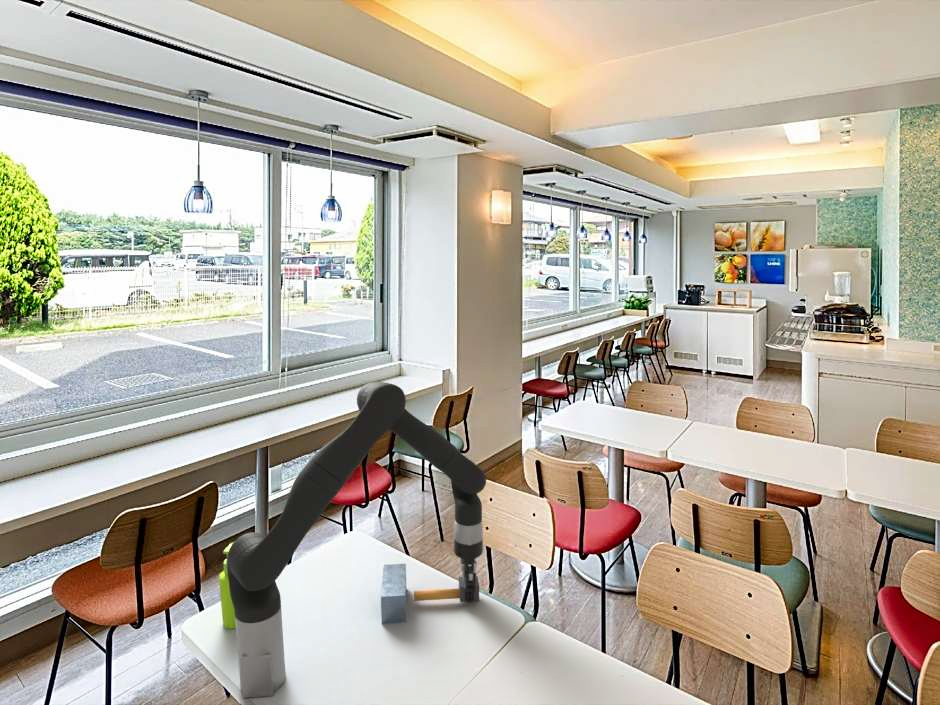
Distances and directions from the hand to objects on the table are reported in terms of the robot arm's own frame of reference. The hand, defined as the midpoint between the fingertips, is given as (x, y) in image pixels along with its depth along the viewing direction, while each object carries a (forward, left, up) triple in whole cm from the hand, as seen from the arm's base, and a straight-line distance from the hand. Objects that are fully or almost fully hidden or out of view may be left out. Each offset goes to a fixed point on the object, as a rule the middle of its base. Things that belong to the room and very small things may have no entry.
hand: (468, 595), depth 151 cm
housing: (0, +20, -2) cm, 20 cm away
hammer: (0, +6, -1) cm, 6 cm away
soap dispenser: (-2, +59, -2) cm, 59 cm away
